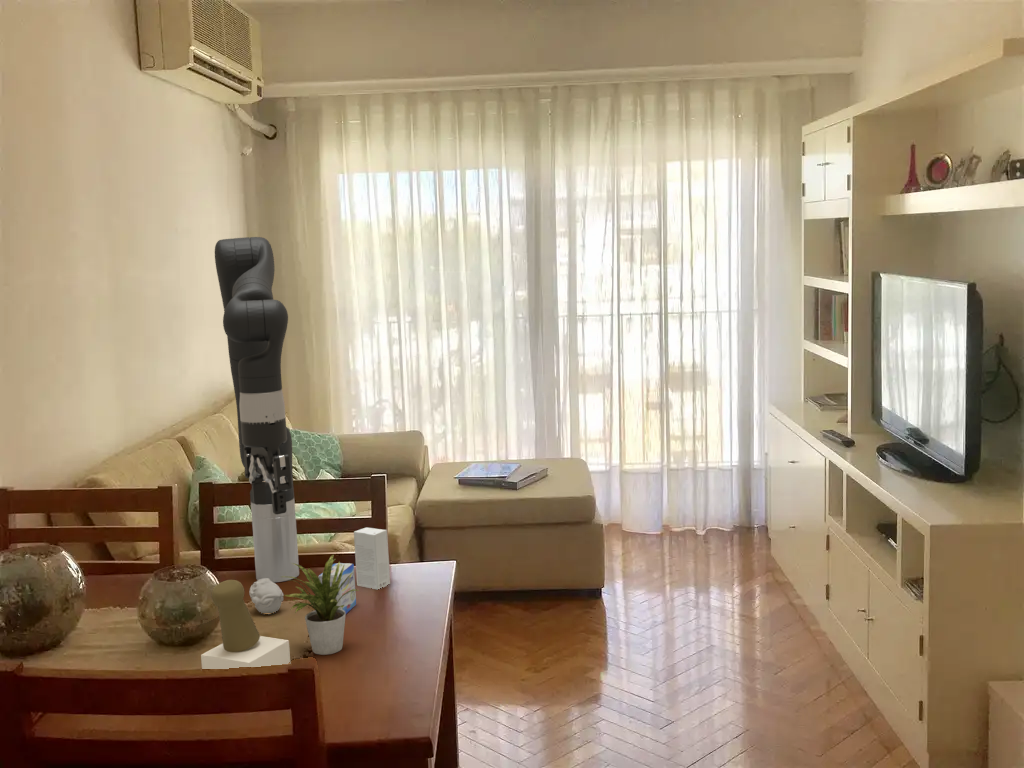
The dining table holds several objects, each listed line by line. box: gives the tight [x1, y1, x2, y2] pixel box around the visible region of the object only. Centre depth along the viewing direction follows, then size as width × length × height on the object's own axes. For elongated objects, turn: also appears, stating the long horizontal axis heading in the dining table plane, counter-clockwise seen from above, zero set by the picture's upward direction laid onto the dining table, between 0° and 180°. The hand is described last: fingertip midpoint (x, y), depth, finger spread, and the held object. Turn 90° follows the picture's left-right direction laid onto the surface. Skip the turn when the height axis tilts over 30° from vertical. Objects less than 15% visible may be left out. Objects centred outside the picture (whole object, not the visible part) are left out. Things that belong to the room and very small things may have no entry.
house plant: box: [283, 554, 360, 656], centre depth 168 cm, size 14×14×16 cm
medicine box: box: [317, 562, 357, 615], centre depth 186 cm, size 8×4×9 cm, turn 168°
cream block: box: [200, 635, 291, 670], centre depth 158 cm, size 10×10×5 cm
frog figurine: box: [249, 578, 285, 614], centre depth 186 cm, size 6×7×7 cm
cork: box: [210, 579, 261, 652], centre depth 157 cm, size 6×6×11 cm
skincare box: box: [353, 527, 391, 591], centre depth 201 cm, size 6×4×12 cm
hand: (269, 508), depth 165 cm, fingers open, 8 cm apart
